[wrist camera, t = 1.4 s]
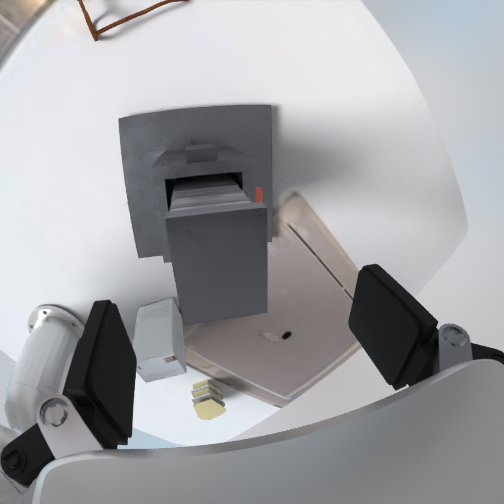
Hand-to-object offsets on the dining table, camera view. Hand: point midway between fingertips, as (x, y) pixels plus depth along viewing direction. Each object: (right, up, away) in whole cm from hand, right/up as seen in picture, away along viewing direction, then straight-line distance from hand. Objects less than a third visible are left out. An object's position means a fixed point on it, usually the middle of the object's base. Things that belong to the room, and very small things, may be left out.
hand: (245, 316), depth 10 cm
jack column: (-6, +10, +22) cm, 25 cm away
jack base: (-6, +11, +24) cm, 27 cm away
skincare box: (-14, -7, +31) cm, 34 cm away
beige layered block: (-9, -25, +42) cm, 50 cm away
